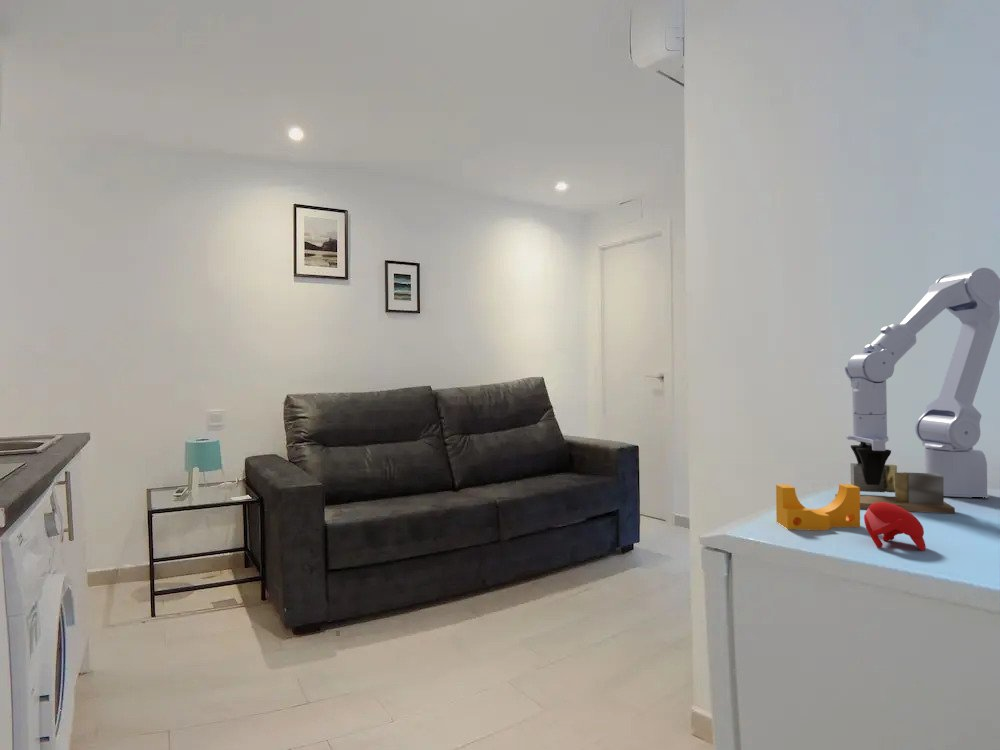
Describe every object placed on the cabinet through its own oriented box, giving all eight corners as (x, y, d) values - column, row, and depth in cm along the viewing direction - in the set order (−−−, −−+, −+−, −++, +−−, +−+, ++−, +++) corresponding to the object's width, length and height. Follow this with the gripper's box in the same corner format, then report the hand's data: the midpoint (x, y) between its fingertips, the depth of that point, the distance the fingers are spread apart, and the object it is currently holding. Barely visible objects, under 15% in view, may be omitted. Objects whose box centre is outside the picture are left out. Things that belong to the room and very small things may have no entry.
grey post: (894, 489, 118) (894, 464, 118) (899, 492, 116) (898, 466, 116) (850, 488, 121) (850, 463, 121) (854, 491, 118) (853, 465, 118)
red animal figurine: (853, 523, 86) (894, 507, 82) (858, 502, 91) (897, 486, 87) (891, 569, 85) (934, 555, 81) (894, 545, 90) (936, 531, 86)
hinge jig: (940, 504, 110) (940, 472, 110) (954, 513, 103) (954, 478, 103) (835, 499, 116) (834, 468, 116) (842, 507, 109) (842, 474, 109)
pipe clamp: (787, 530, 95) (787, 489, 95) (776, 523, 99) (776, 484, 99) (866, 530, 94) (865, 489, 94) (851, 523, 99) (851, 484, 99)
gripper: (839, 410, 126) (840, 475, 127) (854, 416, 113) (855, 488, 113) (878, 411, 124) (879, 476, 124) (898, 416, 110) (899, 490, 111)
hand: (870, 482), depth 118 cm, fingers closed on grey post, 3 cm apart
